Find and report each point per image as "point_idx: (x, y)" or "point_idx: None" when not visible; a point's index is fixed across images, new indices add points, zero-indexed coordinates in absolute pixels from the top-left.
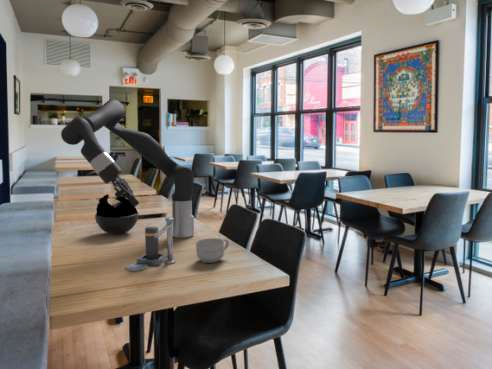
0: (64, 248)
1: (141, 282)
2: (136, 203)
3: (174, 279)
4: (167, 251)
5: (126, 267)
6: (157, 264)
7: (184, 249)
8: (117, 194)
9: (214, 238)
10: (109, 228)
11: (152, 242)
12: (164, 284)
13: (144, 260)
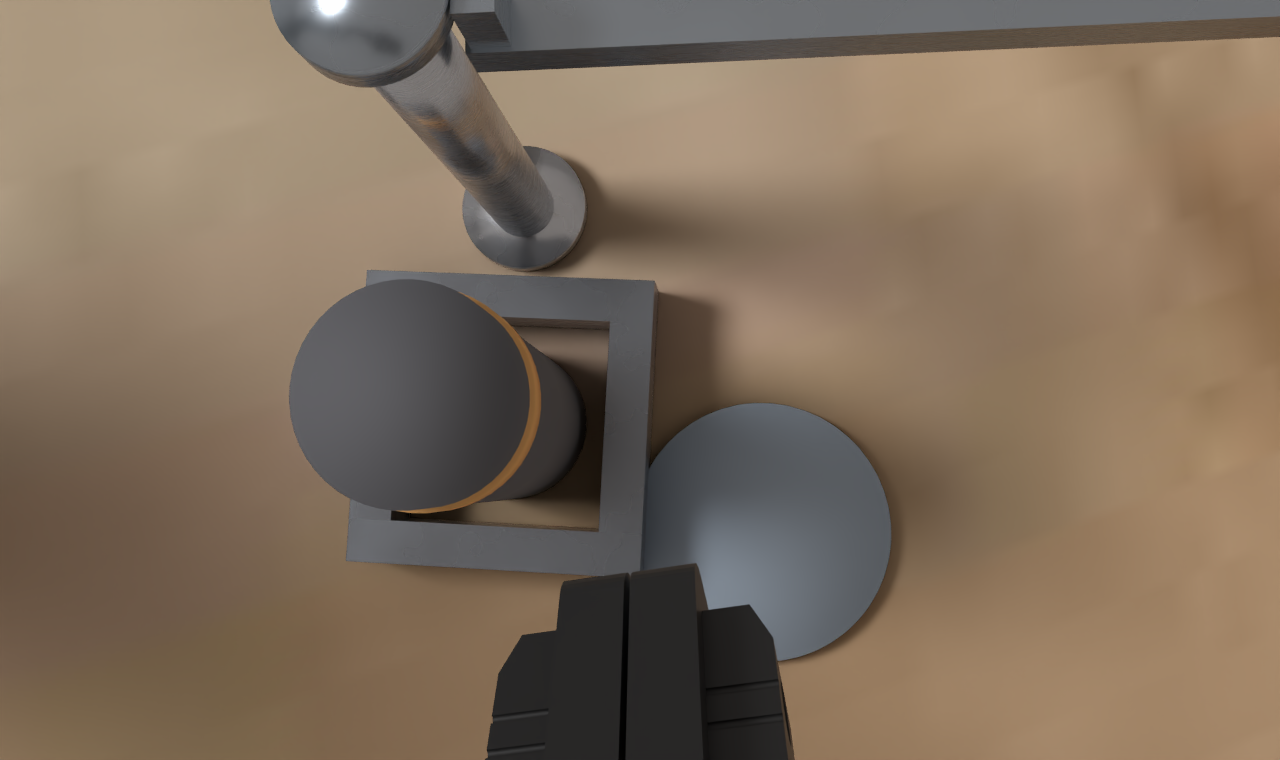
0: None
1: (1238, 319)
2: (703, 630)
3: None
4: (517, 204)
5: (804, 643)
6: (656, 319)
7: (2, 182)
8: None
9: None
10: None
11: (546, 372)
12: (1265, 66)
13: (645, 476)
